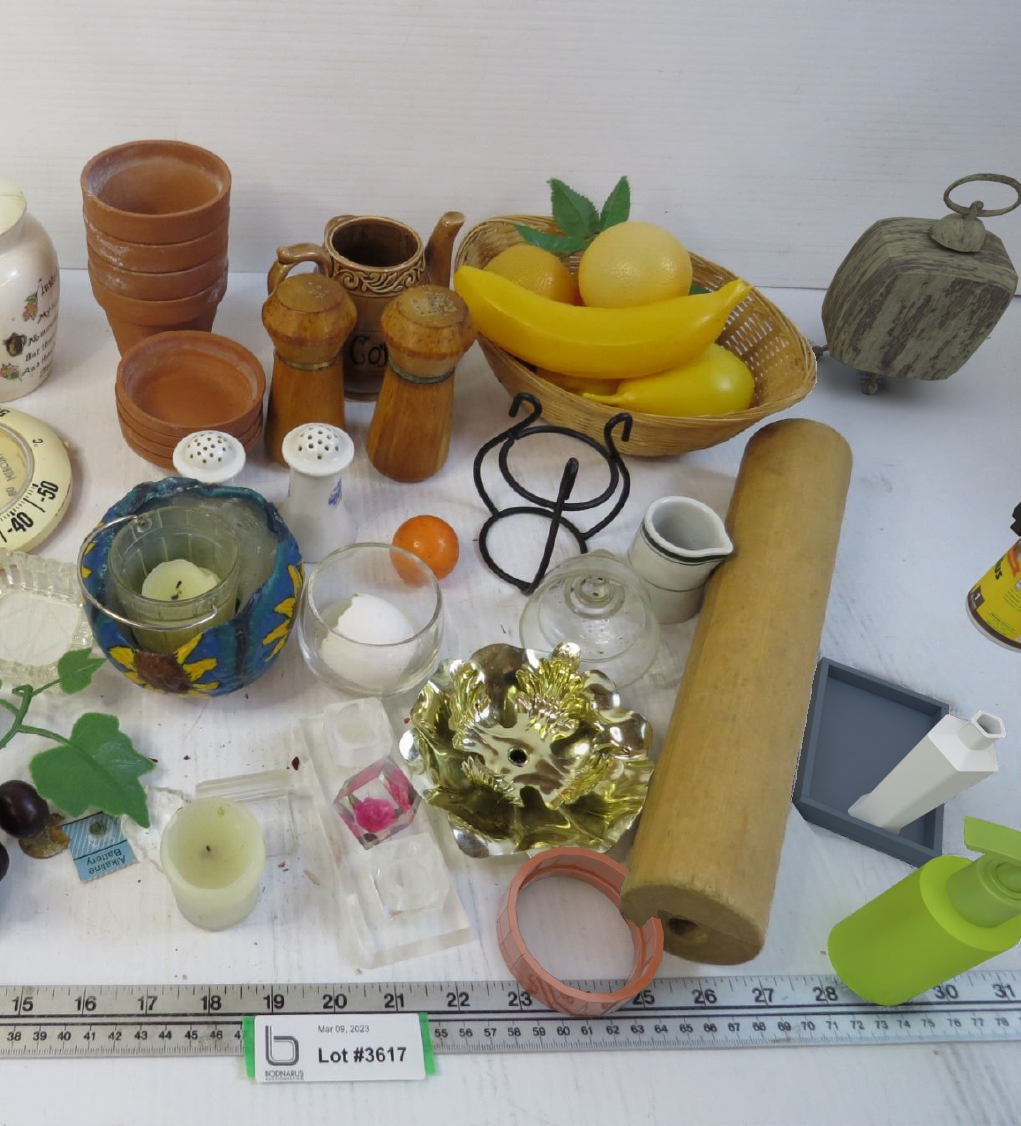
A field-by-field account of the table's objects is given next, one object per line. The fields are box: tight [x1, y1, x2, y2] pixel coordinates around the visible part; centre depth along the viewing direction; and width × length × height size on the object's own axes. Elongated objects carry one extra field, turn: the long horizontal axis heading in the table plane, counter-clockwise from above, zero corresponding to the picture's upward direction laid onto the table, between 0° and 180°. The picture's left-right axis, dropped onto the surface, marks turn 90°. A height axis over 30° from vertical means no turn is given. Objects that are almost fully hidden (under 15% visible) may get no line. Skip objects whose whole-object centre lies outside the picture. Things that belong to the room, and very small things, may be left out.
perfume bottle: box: [848, 709, 1007, 835], centre depth 69 cm, size 5×4×15 cm
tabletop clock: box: [811, 172, 1021, 395], centre depth 100 cm, size 14×9×25 cm, turn 77°
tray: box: [791, 656, 950, 869], centre depth 78 cm, size 15×10×2 cm
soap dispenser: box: [827, 815, 1021, 1007], centre depth 60 cm, size 6×7×20 cm
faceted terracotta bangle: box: [495, 846, 665, 1018], centre depth 66 cm, size 10×10×5 cm
